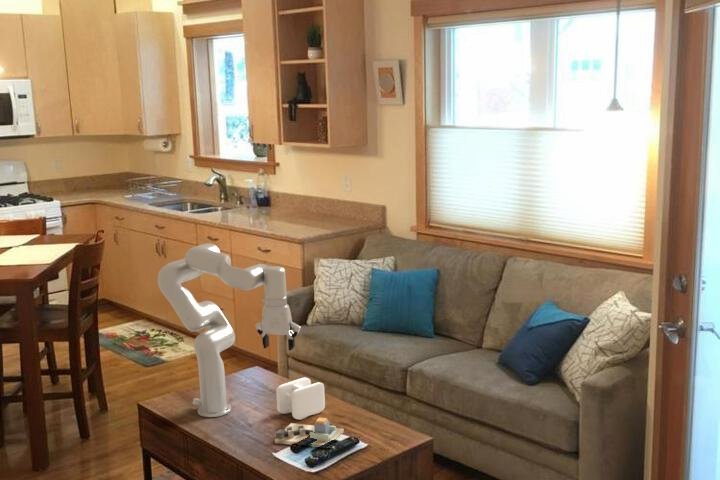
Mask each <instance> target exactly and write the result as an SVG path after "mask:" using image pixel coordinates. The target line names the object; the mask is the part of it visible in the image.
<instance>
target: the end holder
mask: <svg viewBox="0 0 720 480" xmlns="http://www.w3.org/2000/svg"><path fill="white" fill-rule="evenodd" d="M329 425H330V424H329ZM336 428H337V426H336V425H330V432H331V435H330V436H329V434H323V433H313V432H310V438H314V439H317V440H322V441H329V440H331V439H332V438H333V437H334V436H335V434H336Z"/></svg>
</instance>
